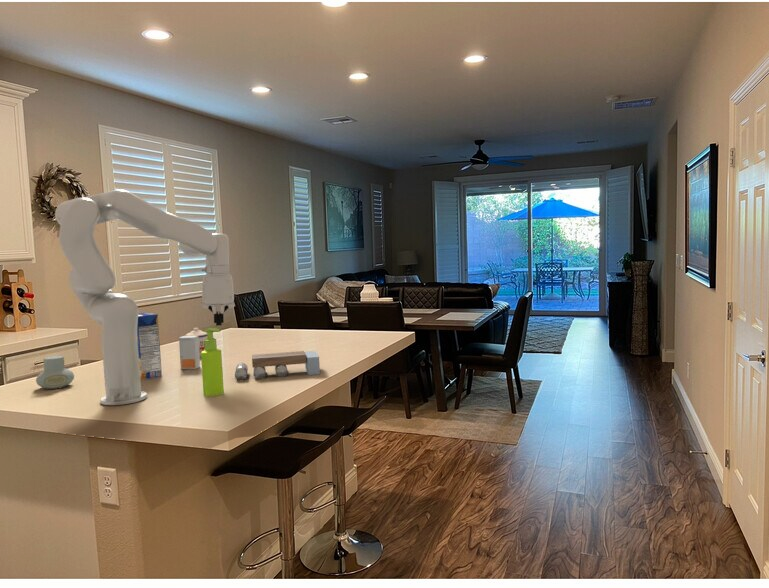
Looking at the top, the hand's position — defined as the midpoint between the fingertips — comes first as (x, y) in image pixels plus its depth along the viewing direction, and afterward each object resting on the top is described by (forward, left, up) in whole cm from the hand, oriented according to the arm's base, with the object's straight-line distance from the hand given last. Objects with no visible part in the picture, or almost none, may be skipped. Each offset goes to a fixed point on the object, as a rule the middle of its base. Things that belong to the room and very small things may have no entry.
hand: (218, 325), depth 188 cm
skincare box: (+23, +13, -19) cm, 33 cm away
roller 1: (0, -5, -16) cm, 17 cm away
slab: (0, -19, -15) cm, 24 cm away
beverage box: (+15, +27, -19) cm, 36 cm away
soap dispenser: (-21, +1, -19) cm, 28 cm away
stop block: (0, -31, -18) cm, 36 cm away
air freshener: (+8, +54, -19) cm, 58 cm away
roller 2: (0, -19, -15) cm, 24 cm away
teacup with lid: (+51, +12, -19) cm, 56 cm away
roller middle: (0, -11, -16) cm, 19 cm away
